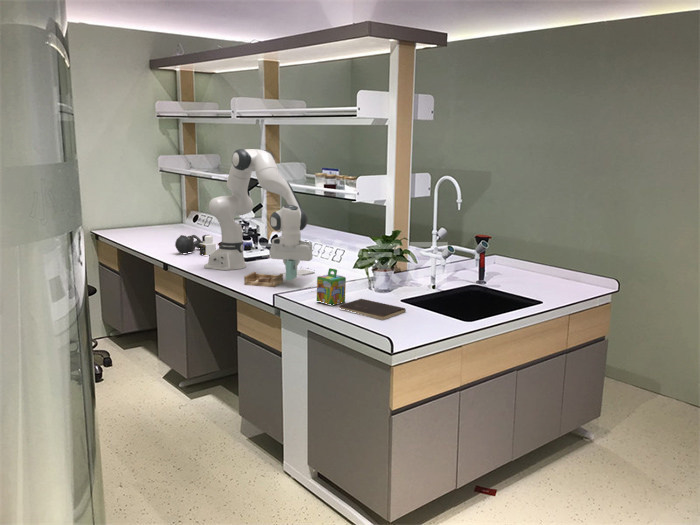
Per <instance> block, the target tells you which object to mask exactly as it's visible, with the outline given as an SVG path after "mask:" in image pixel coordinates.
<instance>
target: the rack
mask: <svg viewBox="0 0 700 525" xmlns="http://www.w3.org/2000/svg"><path fill="white" fill-rule="evenodd" d="M260 277H268V278H271V283H264V282H254V281H256V280H258V279H259V278H260ZM243 280H244V282H243V284H244V285H245V286H254V287H268V288H275V287H277V286H279V285H281V284H283V282H284V274H281V273H279V274H277V275H276V274H266V273H257V272H256V271H253V272H251V273H249V274H247V275H244V278H243Z"/></svg>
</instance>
